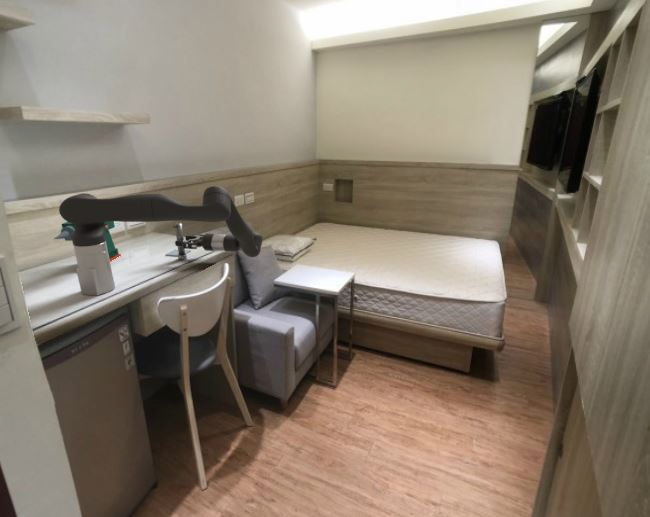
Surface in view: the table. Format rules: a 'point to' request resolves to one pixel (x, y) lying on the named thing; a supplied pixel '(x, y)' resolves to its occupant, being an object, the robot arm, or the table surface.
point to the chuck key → (180, 240)
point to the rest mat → (175, 252)
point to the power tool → (112, 251)
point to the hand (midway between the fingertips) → (180, 240)
